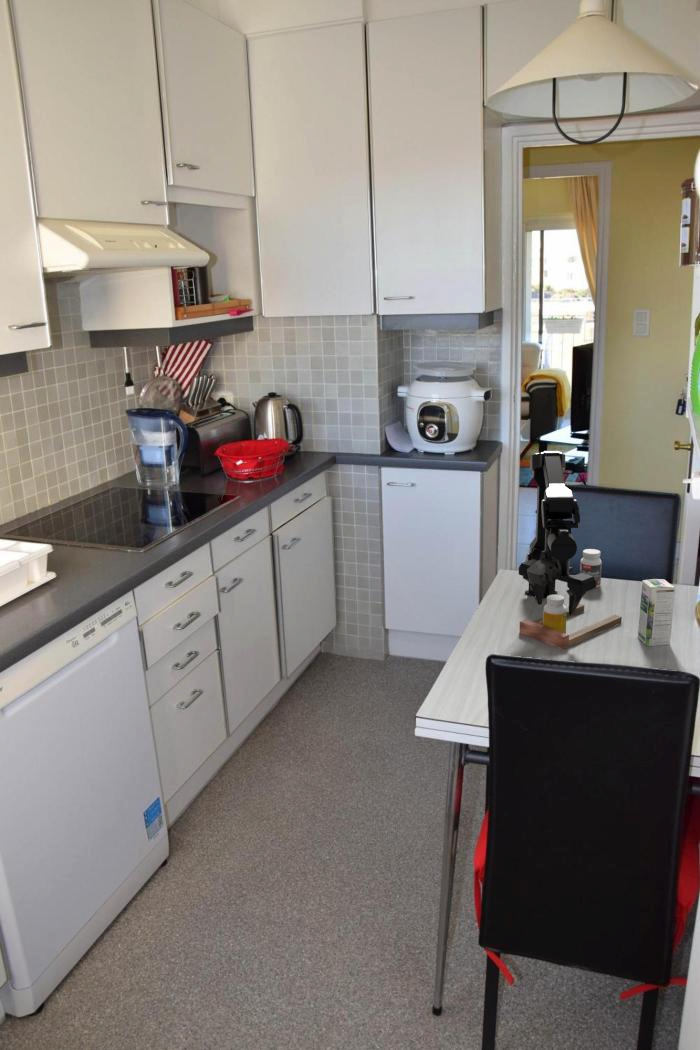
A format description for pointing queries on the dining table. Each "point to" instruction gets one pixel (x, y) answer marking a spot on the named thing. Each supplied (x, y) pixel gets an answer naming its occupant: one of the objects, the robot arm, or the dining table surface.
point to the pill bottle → (591, 564)
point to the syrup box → (656, 612)
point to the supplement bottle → (555, 613)
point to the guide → (562, 639)
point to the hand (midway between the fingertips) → (555, 609)
